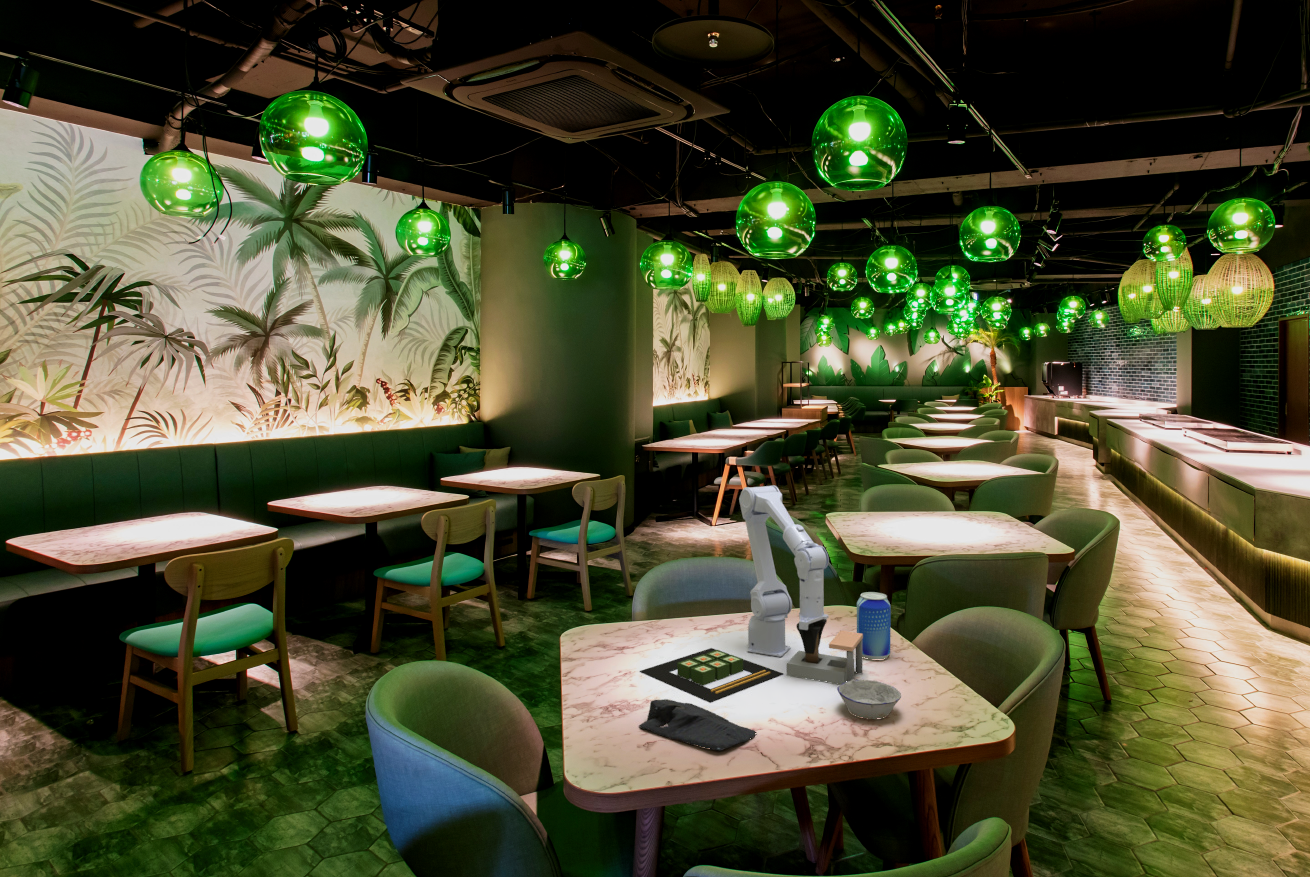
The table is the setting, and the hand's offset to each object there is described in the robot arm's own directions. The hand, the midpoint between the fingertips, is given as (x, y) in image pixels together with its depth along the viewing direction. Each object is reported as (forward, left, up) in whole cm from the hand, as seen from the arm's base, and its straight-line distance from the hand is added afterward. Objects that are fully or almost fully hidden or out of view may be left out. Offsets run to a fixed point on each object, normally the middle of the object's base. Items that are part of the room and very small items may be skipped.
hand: (811, 650), depth 179 cm
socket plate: (+2, 0, -5) cm, 6 cm away
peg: (0, 0, -2) cm, 2 cm away
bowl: (+17, -17, -6) cm, 25 cm away
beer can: (+11, +18, -6) cm, 22 cm away
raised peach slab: (+8, 0, -5) cm, 10 cm away
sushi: (-22, -12, -6) cm, 26 cm away
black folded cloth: (-12, -41, -6) cm, 44 cm away
